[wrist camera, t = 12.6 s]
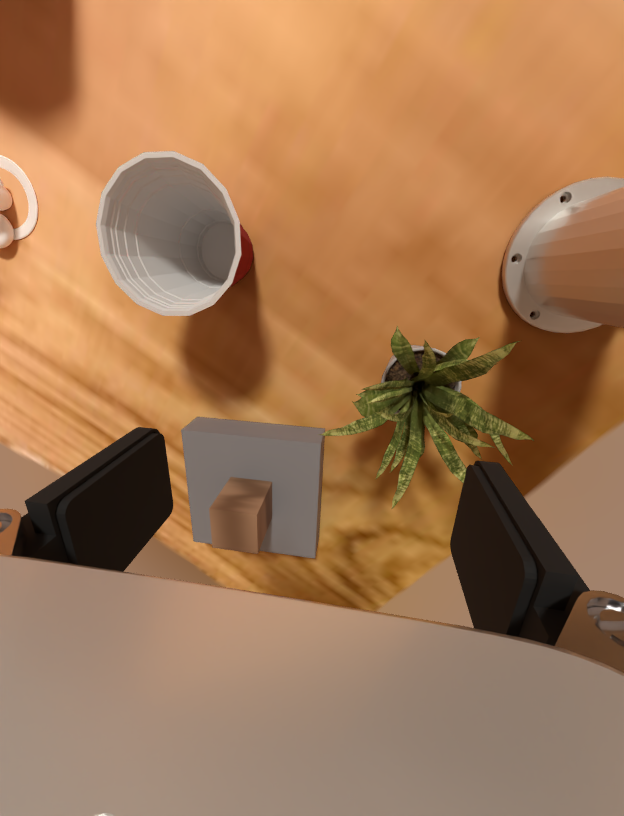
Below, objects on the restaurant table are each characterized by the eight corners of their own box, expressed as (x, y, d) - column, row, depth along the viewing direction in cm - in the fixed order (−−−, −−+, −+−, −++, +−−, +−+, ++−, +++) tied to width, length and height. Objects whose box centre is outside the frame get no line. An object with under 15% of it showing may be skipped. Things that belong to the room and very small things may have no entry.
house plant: (352, 445, 41) (344, 542, 26) (321, 331, 37) (290, 369, 22) (479, 421, 38) (554, 517, 23) (461, 293, 34) (539, 307, 18)
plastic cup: (299, 232, 34) (267, 211, 23) (247, 325, 38) (197, 345, 27) (205, 164, 33) (124, 107, 22) (162, 266, 37) (74, 262, 26)
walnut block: (272, 481, 40) (256, 514, 34) (272, 517, 42) (257, 553, 36) (230, 476, 40) (209, 508, 35) (232, 511, 42) (212, 547, 37)
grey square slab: (324, 428, 41) (320, 443, 37) (319, 536, 47) (315, 558, 43) (197, 416, 43) (181, 429, 39) (206, 521, 49) (193, 541, 45)
